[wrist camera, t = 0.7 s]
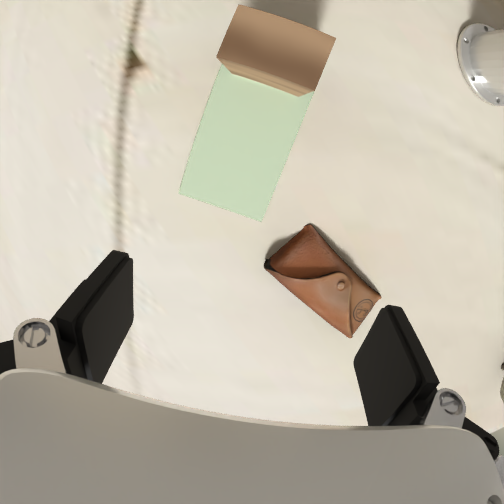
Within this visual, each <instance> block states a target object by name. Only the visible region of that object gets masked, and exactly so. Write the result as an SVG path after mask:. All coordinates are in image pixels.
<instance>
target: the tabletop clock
mask: <svg viewBox="0 0 504 504" xmlns="http://www.w3.org/2000/svg"><path fill="white" fill-rule="evenodd" d="M501 369H502V370H504V364H503V365H502V366H501ZM500 395H501V398H502V400H503V402H504V378H503V381H502V385H501V390H500Z"/></svg>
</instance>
